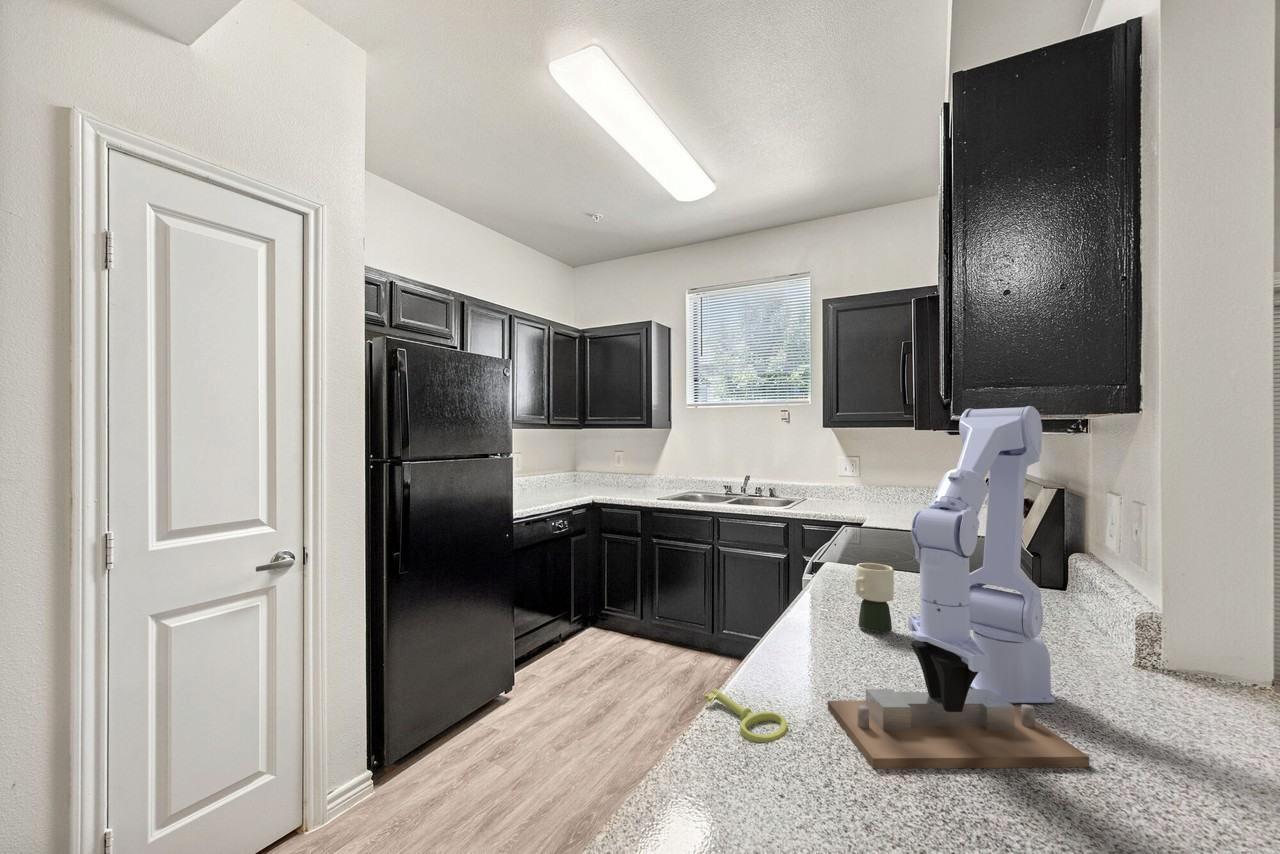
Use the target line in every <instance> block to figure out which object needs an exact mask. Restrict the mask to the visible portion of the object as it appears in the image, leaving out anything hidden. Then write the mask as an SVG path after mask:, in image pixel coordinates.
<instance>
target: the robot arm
mask: <svg viewBox="0 0 1280 854" xmlns="http://www.w3.org/2000/svg"><path fill="white" fill-rule="evenodd" d="M958 430H959V431H958V432H959V436H960V439H961V442H962V445H963V446H962V449H961V452H960V456H959V458H958V463H957V465H956V468H954V469H951V470H949V471H946V473H944V474H943V476H942V479H941V480H940V482H939V485H938V487H937V488H936V490H935V493H934V494H933V497H932V499H931V500H930V503H929V505H928V507H924V508H922V510H918V511H917V512H916V513H915V514H914V516H913V518H912V523H911V529H910V536H911V542H912V544H913V546H914V551H915V552H914V553H915V559H916V560H915V561H916V562H917V563H919V603H920V604H919V607H920V608H919V609H920V610H919V611H920V612H919V613H920V614H919V615H909V616H908V630H909V631H911V636H912V638H913V639H915V640H911V642H910V646H911V649H912V650H913V652H914V653H915V656H916V657H917V660H918V662H919V665H920V667H921V671H922V674H923V678H924V682H925V686H926V692H928V694H929V696H930V697H931V698H941V699H942V705H943V708H944V710H945V711H947V712H962V710H963V707H964V704H965V700H966V697H967V694H968V691H969V689H989V690H991V691H992V692H994V693H995V694H996V695H998V696H999V697H1001V698H1002V699H1004V700H1006V701H1008V702H1009V703H1011V704H1055V703H1056V699H1055V698H1054V697H1053V696H1052V685H1051V684H1052V683H1051V680H1052V678H1051V675H1052V673H1051V671H1052V670H1051V656H1050V652H1049V650H1048V646H1047V645H1046V643H1045V642H1044V641H1043V640H1042V639H1041V637H1040V634H1041V632H1042V629H1043V625H1044V609H1043V606H1042V605H1043V604H1042V592H1041V589H1040V588H1039V587H1038V585H1037V584H1035V583H1034V581H1032V580H1031V579H1029V578H1028V577H1027V576H1026V575H1025V574H1024V573H1022V571H1021V559H1022V557H1021V556H1022V553H1021V552H1022V539H1023V523H1024V521H1023V520H1024V503H1025V490H1026V489H1025V488H1026V486H1025V485H1026V477H1027V472H1028V468H1029V466H1031V465H1033V464H1035V463H1038V462H1039V461H1040V458H1041V457H1040V456H1041V454H1042V445H1043V444H1042V442H1043V440H1042V439H1043V424H1042V419H1041V415H1040V413H1039V411H1038V410H1037V409H1036V408H1035V407H1034V405H1033V406H1031V405H1028V406H1027V405H1026V406H1023V407H1022V406H1021V407H1002V408H1001V407H1000V408H999V407H998V408H979V409H978V408H977V409H976V408H975V409H974V408H972V407H971V408H967V409H965V410H964V411H963V412H962V413H961V416H960V418H959V424H958ZM988 472H989V473H988ZM987 475H989V478H988V484H987V482H986V480H985V478H986V477H987ZM986 498H987V506H986V518H985V519H986V520H985V521H986V522H985V536H984V549H983V550H984V551H983V560H982V561H983V564H982V566H981V567H979V568H978V569H975V570H974V571H972V572H970V556H971V555H972V554H973V553H974V552H975V550H976V547H977V544H978V537H979V536H978V535H979V528H980V521H979V518H978V517H979V514H980V512H981V509H982V508H983V504H984V502H985V500H986ZM984 586H993V587H998V588H1003V589H1010V590H1014V591H1016V592H1018V593H1015V592H1010V591H1006V590H1005V591H1004V590H1001V589H994V588H989V587H984ZM971 631H972V635H973V637H972V636H971Z"/></svg>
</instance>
